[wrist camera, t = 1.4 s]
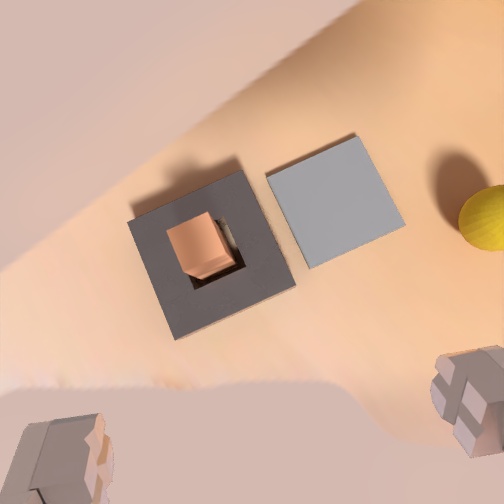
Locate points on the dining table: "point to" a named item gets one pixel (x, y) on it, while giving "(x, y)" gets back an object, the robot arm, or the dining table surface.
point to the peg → (202, 247)
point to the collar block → (226, 288)
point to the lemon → (484, 219)
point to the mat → (335, 202)
